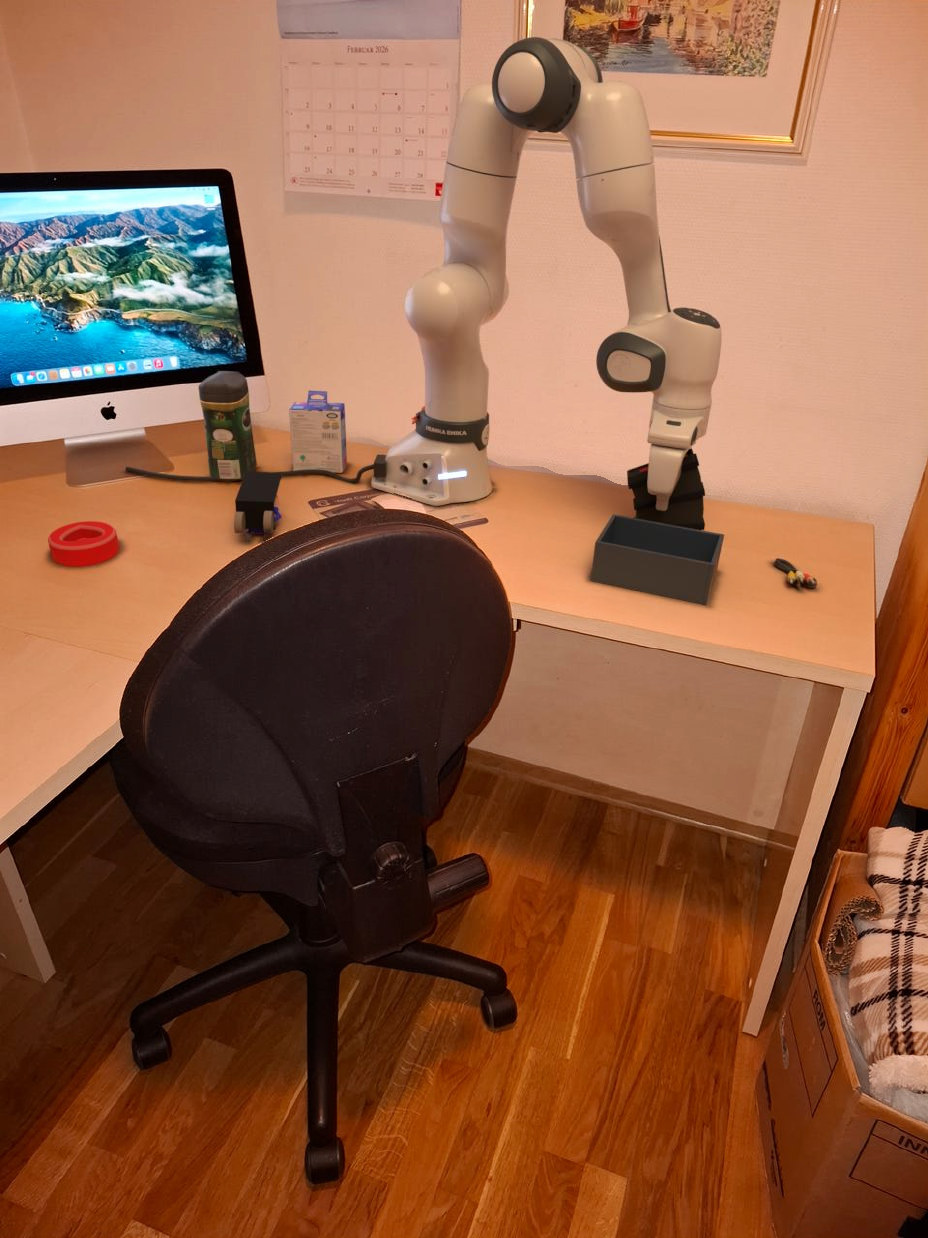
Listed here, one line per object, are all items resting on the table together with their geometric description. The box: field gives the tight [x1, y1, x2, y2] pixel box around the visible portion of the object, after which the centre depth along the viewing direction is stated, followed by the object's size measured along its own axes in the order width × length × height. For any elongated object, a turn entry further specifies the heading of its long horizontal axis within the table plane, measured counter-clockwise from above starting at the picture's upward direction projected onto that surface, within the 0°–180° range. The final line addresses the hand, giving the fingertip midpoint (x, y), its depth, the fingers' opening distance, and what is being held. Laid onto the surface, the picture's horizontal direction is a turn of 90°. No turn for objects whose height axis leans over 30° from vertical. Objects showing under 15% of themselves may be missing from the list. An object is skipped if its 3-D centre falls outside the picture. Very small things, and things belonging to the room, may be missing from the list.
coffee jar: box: [198, 370, 257, 483], centre depth 155 cm, size 10×8×19 cm
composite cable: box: [773, 557, 818, 590], centre depth 130 cm, size 10×5×2 cm, turn 177°
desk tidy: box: [590, 513, 725, 606], centre depth 128 cm, size 17×11×6 cm, turn 68°
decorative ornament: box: [47, 520, 120, 567], centre depth 129 cm, size 10×10×3 cm
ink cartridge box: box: [288, 390, 348, 474], centre depth 160 cm, size 10×6×14 cm, turn 89°
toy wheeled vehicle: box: [233, 471, 283, 542], centre depth 138 cm, size 7×8×15 cm
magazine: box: [626, 448, 706, 531], centre depth 139 cm, size 4×13×15 cm, turn 82°
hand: (665, 502), depth 139 cm, fingers open, 5 cm apart
